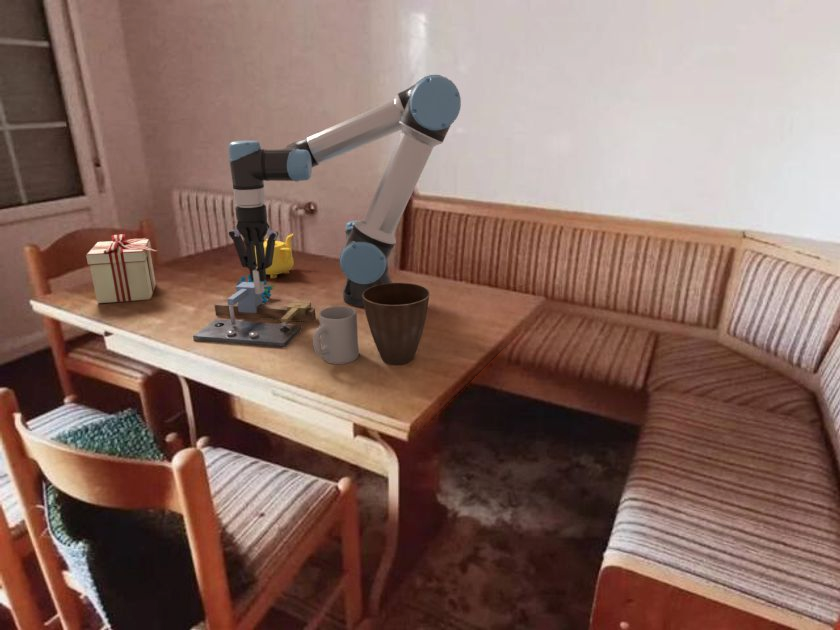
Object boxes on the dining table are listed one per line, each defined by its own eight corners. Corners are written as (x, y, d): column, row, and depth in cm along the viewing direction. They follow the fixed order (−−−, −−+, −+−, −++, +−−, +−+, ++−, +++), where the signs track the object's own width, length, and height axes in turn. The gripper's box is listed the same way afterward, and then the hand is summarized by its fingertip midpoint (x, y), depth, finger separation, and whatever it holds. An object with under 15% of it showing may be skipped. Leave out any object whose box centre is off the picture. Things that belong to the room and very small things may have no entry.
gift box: (166, 297, 173) (155, 241, 166) (96, 306, 167) (83, 248, 160) (166, 280, 187) (157, 228, 181) (102, 288, 181) (90, 234, 175)
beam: (315, 318, 157) (315, 308, 156) (312, 322, 155) (311, 311, 154) (220, 311, 162) (218, 301, 161) (215, 315, 160) (214, 304, 159)
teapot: (298, 278, 189) (295, 242, 185) (252, 281, 186) (248, 245, 182) (296, 265, 202) (293, 232, 197) (253, 268, 199) (249, 234, 194)
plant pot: (351, 362, 133) (348, 296, 127) (390, 339, 144) (388, 278, 138) (405, 379, 125) (404, 310, 119) (441, 353, 137) (442, 289, 131)
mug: (339, 345, 141) (336, 303, 137) (366, 354, 137) (364, 310, 133) (303, 363, 132) (299, 319, 128) (330, 373, 128) (327, 327, 124)
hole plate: (301, 329, 150) (301, 322, 149) (284, 347, 140) (283, 340, 139) (216, 323, 154) (215, 316, 154) (193, 340, 144) (192, 332, 144)
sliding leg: (263, 307, 160) (260, 282, 157) (241, 325, 149) (238, 298, 146) (246, 306, 161) (243, 281, 158) (223, 324, 149) (219, 297, 147)
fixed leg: (311, 310, 158) (310, 302, 157) (293, 329, 146) (292, 320, 145) (294, 309, 159) (293, 300, 158) (274, 328, 147) (273, 318, 146)
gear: (242, 305, 162) (233, 274, 165) (236, 314, 167) (228, 284, 170) (279, 301, 169) (270, 272, 172) (273, 311, 173) (264, 282, 176)
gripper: (280, 202, 149) (288, 289, 158) (233, 200, 151) (243, 286, 160) (268, 208, 142) (277, 298, 151) (219, 206, 145) (230, 295, 154)
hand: (259, 292), depth 156 cm, fingers closed
